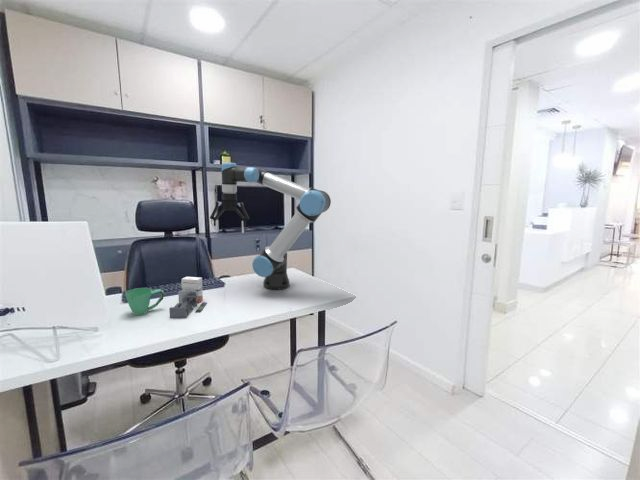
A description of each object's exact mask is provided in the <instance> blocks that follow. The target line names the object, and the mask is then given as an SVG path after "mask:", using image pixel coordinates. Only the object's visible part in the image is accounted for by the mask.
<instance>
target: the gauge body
mask: <svg viewBox="0 0 640 480" xmlns="http://www.w3.org/2000/svg"><path fill="white" fill-rule="evenodd" d="M207 304H208V302H206V301H205V302H204V301H203V302H202V301H201V304H200V305H199V306H198V307H197V308H196V310H195V314H197V313H198V314H199V313H202V311H203V310H204V308H205V306H206V305H207ZM180 306H181V303H179V302H177V303H176V304H175V305H174V306H170V307H169V319H187V318H188V316H189V315H190V314H191V313H192V312H193V310H194V306H193V303H189V304H188V305H187V306H186V307H180Z"/></svg>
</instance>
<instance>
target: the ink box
mask: <svg viewBox="0 0 640 480" xmlns="http://www.w3.org/2000/svg"><path fill="white" fill-rule="evenodd" d="M180 279H181V284H180V285H181V291H197V296H202V300H199V298H197V304H199V303H202V301H203V297H204V296H203V294H204V293H203V277H200V276H199V277H198V276H197V277H196V276H185V277H183V278H180Z"/></svg>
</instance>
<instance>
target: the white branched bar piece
mask: <svg viewBox="0 0 640 480" xmlns="http://www.w3.org/2000/svg"><path fill="white" fill-rule="evenodd" d="M177 295H178V303H181V306H180V307H186V306H187V305H188V304H189V303H193V307H197V306H198V303H197V298H199V300H202V296H197V291H182V290H179V291H178V293H177ZM202 301H203V300H202Z"/></svg>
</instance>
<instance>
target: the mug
mask: <svg viewBox="0 0 640 480" xmlns="http://www.w3.org/2000/svg"><path fill="white" fill-rule="evenodd" d="M157 293H158V294H159V293H160V297H159V298H158V300H157V301H156V302H155V303H154V304H152V305H150V302H151V296H152V295H154V294H157ZM164 295H165V292H164V291H163V290H162V289H161V288H157V289H154V290H152V288H149V287H138V288H133V289H130V290H127V291H126V292H125V299H126V300H127V303H128V307H129V308H130V310H131V312H132V313H133V315H135V316H142V315H145V314H147V312H149V311H150V310H152V309H154V308H156V307H157V306H158V305H159V304H160V303H161V302H162V301H163V299H164ZM149 305H150V306H149Z"/></svg>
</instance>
